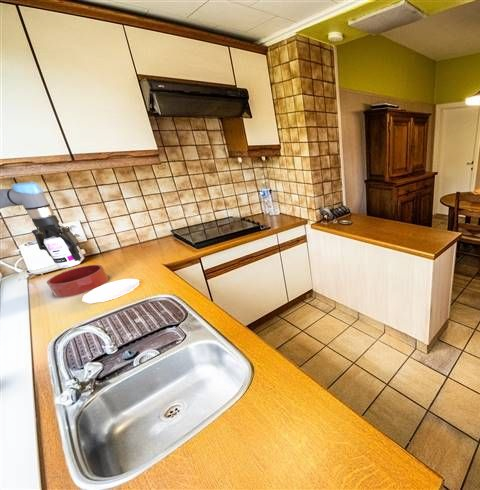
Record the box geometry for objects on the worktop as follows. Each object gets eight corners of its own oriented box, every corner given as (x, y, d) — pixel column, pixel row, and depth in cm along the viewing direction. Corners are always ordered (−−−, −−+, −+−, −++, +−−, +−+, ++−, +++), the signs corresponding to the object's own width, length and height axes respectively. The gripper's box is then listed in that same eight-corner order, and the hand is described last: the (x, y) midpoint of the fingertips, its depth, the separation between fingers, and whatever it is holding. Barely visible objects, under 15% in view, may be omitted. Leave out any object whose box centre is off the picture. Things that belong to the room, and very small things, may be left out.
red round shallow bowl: (42, 299, 126) (34, 286, 123) (77, 278, 144) (71, 267, 141) (87, 294, 128) (80, 282, 125) (117, 274, 146) (111, 263, 143)
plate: (149, 279, 139) (148, 276, 139) (122, 302, 120) (120, 299, 120) (105, 284, 137) (104, 281, 136) (70, 308, 118) (68, 305, 117)
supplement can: (81, 259, 136) (66, 232, 130) (83, 263, 132) (67, 235, 126) (58, 265, 131) (41, 237, 125) (59, 270, 126) (42, 241, 120)
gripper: (75, 212, 126) (97, 255, 135) (26, 216, 123) (51, 259, 133) (61, 217, 119) (85, 261, 128) (8, 221, 117) (36, 266, 126)
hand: (68, 260), depth 130 cm, fingers closed on supplement can, 8 cm apart
